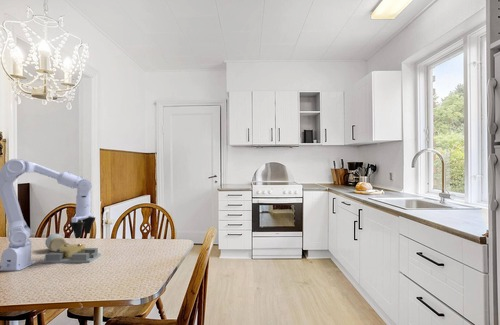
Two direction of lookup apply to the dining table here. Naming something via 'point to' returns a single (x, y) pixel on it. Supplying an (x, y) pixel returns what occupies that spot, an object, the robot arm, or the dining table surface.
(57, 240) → the ceramic mug
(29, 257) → the robot arm
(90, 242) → the dining table surface
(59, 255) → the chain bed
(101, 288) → the dining table surface
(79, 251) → the link
